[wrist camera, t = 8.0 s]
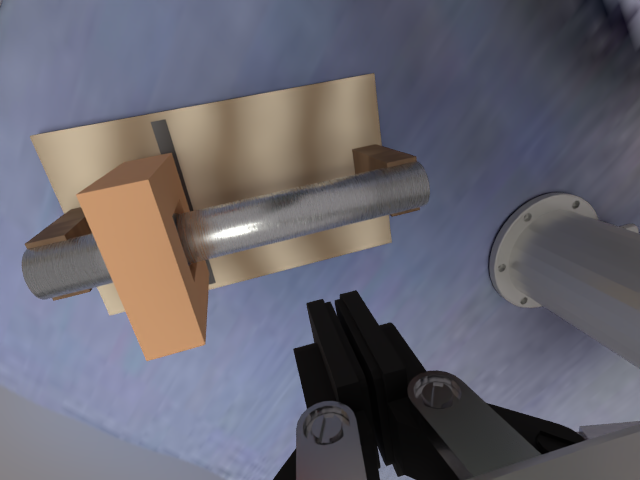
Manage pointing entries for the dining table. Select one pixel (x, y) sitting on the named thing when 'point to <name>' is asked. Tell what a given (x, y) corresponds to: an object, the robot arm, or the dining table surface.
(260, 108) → the pipe stand
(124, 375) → the dining table surface
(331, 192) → the pipe
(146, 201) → the collar
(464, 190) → the dining table surface
